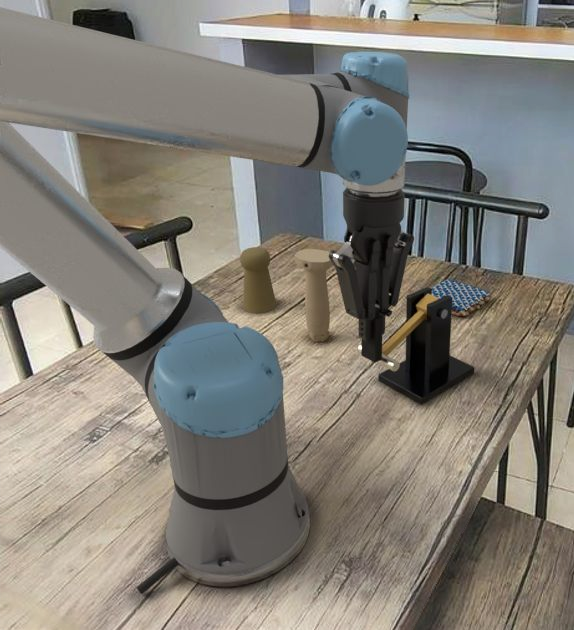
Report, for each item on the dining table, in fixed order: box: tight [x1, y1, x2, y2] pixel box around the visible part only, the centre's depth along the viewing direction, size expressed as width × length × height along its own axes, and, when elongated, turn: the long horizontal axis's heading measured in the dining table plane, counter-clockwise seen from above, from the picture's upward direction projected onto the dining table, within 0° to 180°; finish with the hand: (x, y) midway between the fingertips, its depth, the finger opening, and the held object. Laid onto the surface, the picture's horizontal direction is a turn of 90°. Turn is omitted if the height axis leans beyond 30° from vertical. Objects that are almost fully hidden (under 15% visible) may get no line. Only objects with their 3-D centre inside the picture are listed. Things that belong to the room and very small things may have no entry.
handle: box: [294, 248, 334, 343], centre depth 111 cm, size 5×6×15 cm
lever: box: [357, 294, 439, 371], centre depth 97 cm, size 13×7×2 cm, turn 137°
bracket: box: [377, 286, 475, 406], centre depth 101 cm, size 12×9×14 cm
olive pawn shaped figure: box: [239, 246, 277, 314], centre depth 122 cm, size 6×6×11 cm
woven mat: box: [431, 278, 491, 317], centre depth 127 cm, size 10×11×2 cm
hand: (371, 357), depth 93 cm, fingers closed
